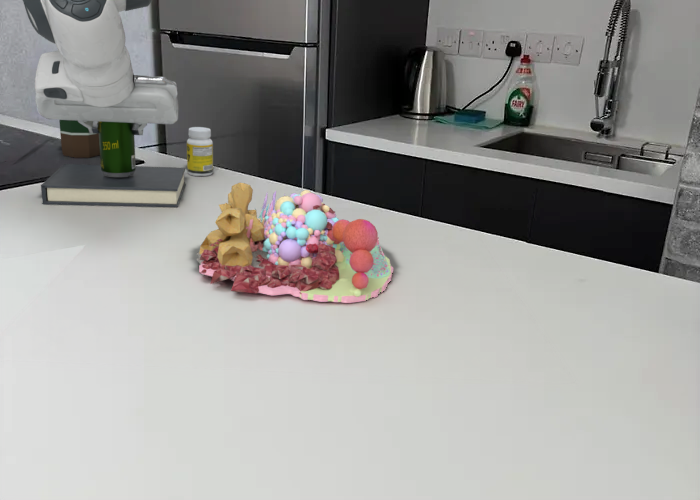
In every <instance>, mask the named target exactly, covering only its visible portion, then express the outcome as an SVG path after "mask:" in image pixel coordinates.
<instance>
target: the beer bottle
mask: <svg viewBox="0 0 700 500" xmlns="http://www.w3.org/2000/svg"><path fill="white" fill-rule="evenodd" d="M58 121H59V133H60V144H61V145H60V146H61V153H62V155H63V156H64V157H68V156H69V157H68V158H73V157H74V158H75V159H79V158H80V159H83V158H84V159H85V158H86V159H88V158H94V157H100V147H99V134H98V133H90V132H89V129H88V128H87V127H85V126H83V125H82V124H80V123H79V122H78V121H77V120H58Z"/></svg>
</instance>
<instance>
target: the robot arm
mask: <svg viewBox="0 0 700 500" xmlns="http://www.w3.org/2000/svg"><path fill="white" fill-rule="evenodd" d="M152 2H153V0H22V3H23V5H24V10H25V13H26V15H27V17H28V20H29V22H30V24H31V26H32V27H33V29H34V30H35V32H36V33H37V34H38V35H40V37H42V38H44V39H45V40H47V41H48V42H50V43H52V44H54V45H55V47H56V48H57V50H54V51H47V52H43V53H42V54H40V57H39V60H38V62H37V67H36V72H35V77H34V78H35V79H34V91H35V96H34V101H35V106H36V110H37V113H38V114H39V115H40V116H41V117H42V118H44V119H46V120H51V121H53V120H54V121H59V120H77V121H78V122H79V123H80V124H82V125H83V126H85V127H87V128H88V129H89V132H90V133H98V134H99V128H98V121H101V122H126V123H133V126H132V132H133V135H134V136H144V129H145V128H146V127H147V126H148V124H149V125H150V124H151V125H174V124H175V123H176V122H177V121H178V120H179V114H180V113H179V112H180V111H179V108H180V107H179V105H180V104H179V99H178V95H179V89H178V85H177V83H176V81H172V80H170V79H167V77H166V76H162V75H161V76H160V75H158V76H151V75H150V76H149V75H140V74H134V70H133V65H132V61H131V56H130V53H129V50H128V48H127V46H126V33H125V29H124V25H123V20H122V18H121V14H120V13H121V12H124V11H125V12H128V11H134V10H138V9H142V8H146V7H147V8H148V7H149V6H150V5H151V3H152Z"/></svg>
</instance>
